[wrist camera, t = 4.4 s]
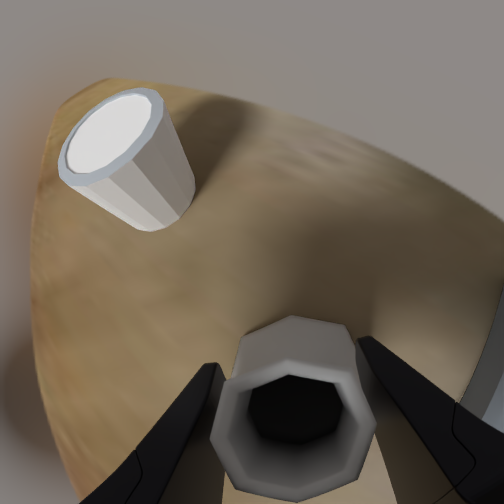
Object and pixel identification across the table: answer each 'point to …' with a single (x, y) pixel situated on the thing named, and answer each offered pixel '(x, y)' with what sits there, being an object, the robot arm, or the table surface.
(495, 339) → the tray
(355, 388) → the light grey vase
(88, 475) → the table surface
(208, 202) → the table surface
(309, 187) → the table surface
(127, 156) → the white cup
